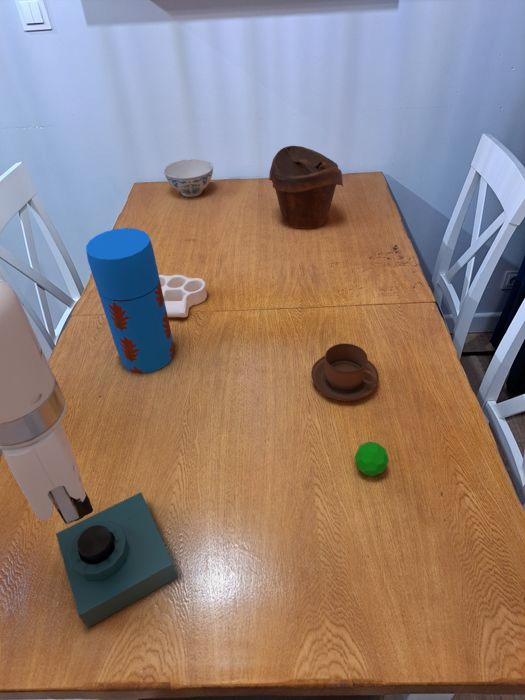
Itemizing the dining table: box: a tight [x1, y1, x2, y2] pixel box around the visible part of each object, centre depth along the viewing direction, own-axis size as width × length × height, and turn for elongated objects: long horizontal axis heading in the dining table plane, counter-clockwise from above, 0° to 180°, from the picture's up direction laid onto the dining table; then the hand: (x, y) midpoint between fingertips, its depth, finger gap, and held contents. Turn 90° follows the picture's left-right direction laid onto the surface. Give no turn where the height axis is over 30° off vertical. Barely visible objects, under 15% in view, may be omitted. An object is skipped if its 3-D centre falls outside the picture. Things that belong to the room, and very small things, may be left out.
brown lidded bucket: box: [268, 145, 344, 230], centre depth 132 cm, size 18×20×18 cm
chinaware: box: [163, 158, 214, 198], centre depth 152 cm, size 15×15×8 cm
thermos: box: [85, 227, 175, 374], centre depth 89 cm, size 11×11×25 cm
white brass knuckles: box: [159, 274, 208, 318], centre depth 110 cm, size 3×18×15 cm
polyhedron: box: [354, 441, 390, 477], centre depth 74 cm, size 5×5×5 cm
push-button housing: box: [55, 491, 179, 629], centre depth 64 cm, size 12×12×6 cm
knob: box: [77, 525, 114, 563], centre depth 61 cm, size 4×4×2 cm
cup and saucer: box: [310, 343, 380, 402], centre depth 87 cm, size 12×12×6 cm
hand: (78, 512), depth 56 cm, fingers closed
